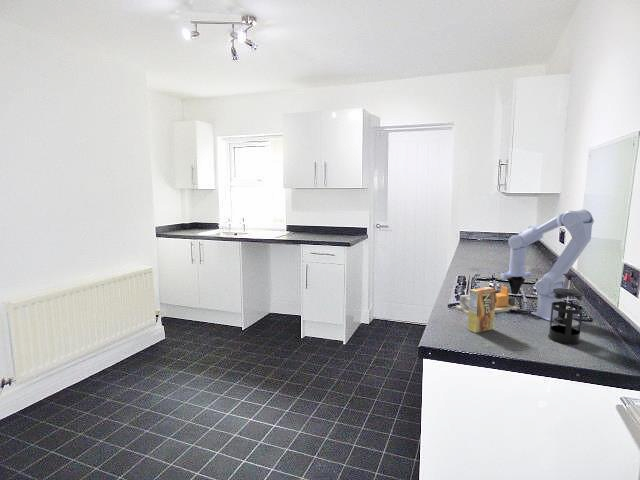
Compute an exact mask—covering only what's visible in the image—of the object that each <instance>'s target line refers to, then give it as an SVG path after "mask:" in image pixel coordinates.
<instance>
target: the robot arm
mask: <svg viewBox="0 0 640 480" xmlns="http://www.w3.org/2000/svg"><path fill="white" fill-rule="evenodd" d="M594 223H595V220H594V218H593V215H592V213H591V212H590V211H589V210H586V209H579V210H567V211H565V212H564V213H560V214H558V215H556V216H555V217H553V218H552V219H550V220H547V221H546V222H544V223H543V224H541V225H540V226H537V225H531V226H530V225H529V226H528V227H527V229H526V230H524V231H519V232H518V235H517V234H516V235H515V234H513V235H511V236H510V237H509V239H508V241H507V243H508V247H510V250H509V251H510V253H509V255H510V256H509V267H508V271H506V272H504V273H500V279H502V280H506V281H507V282H508V285H509V287H510V291H511V294H512V295H514V296H515V295H518V293H519V291H520V289H521V286H522V285H523V284H524V282H525V281H526V279H525V278H526V277H527V278H528V277H529V278H532V274H533V273H532V272H531V271H525V262H526V253H527V248H528V247H529V246H530V244H534V243H535V242H537V241H539V240H541V239H542V238H543V237H544V234H545V233H548V232H551V231H553V230H556V229H557V228H559V227H564V228H565V230H567V231H568V232H569V234H570V236H571V239H570V240H569V242H568V244H567V245H566V246H565V248H564V249H563V250H562V252H561V254H560V255H559V256H558V258H557V259H556V261H555V262H554V264H553V266H552V267H551V269H550V270H549V271H548V272H546V273H545V274H544V275H543V276H542V277H541V278H540V279H538V280H536V282H535V285H534V288H535V291H536V292H537V301H536V302H537V304H536V311H531V312H530V314H532V315H534V316H537V317H539V318H542V319H544V320H547V321H549V322H550V318H551V307H552V303H553V302H560V301H565V300H564V298H562V299H557V298H555V297H554V292H553V289H557V288H564V285H565V282H566V281H567V279H566V276H564V275H563V274H566V273H569V271H570V270H571V268H572V266H573V265H574V264H575V263H576V261H577V260H578V258H579V257H580V255H581V254H582V252H584V249H585V248H586V247H587V245H588V244H589V242H590V241H591V239H592V229H593V224H594ZM556 307H559V305H557V306H556ZM558 312H559V311H556V310H554V309H553V316H552V318H554V317H558Z"/></svg>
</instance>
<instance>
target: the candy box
mask: <svg viewBox="0 0 640 480" xmlns="http://www.w3.org/2000/svg"><path fill="white" fill-rule="evenodd" d="M469 291H470V293H469V295H470V303H469V314H468V319H467V320H468V321H467V330H468V331H471V332H473V333H475V334H476V333H482V332H485V331H491V330H493V329H494V322H495V321H494V320H495V313H494V310H495V298H496V293H497V289H496V288H493V287H490V286H485V287H483V286H482V287H478V288H477V287H476V288H471V289H470V290H469Z"/></svg>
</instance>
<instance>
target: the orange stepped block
mask: <svg viewBox="0 0 640 480" xmlns="http://www.w3.org/2000/svg"><path fill="white" fill-rule="evenodd" d="M508 295H509V287H507V286H504V285H501V286H500V292H496V298H495V299H497V300H496V302H495V306H497V307H500V306H508V299H509V296H510V295H509V296H508Z"/></svg>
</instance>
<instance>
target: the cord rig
mask: <svg viewBox="0 0 640 480" xmlns="http://www.w3.org/2000/svg"><path fill="white" fill-rule="evenodd" d="M508 296H509V299H508V306H500V307H497V306H495V310H494V314H495V313H506V312H510V311H509V310H510V309H520V307H519V306H517V305H515V304H516V297H514V296H513V297H511V296H510V295H509V294H508ZM496 300H497V299H495V302H496ZM469 303H470V294H461V295H459V305H458V304H457V305H455V309H457V310H459V311H461V312H463V313H465V314H467V315H469ZM520 310H521V309H520Z"/></svg>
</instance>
